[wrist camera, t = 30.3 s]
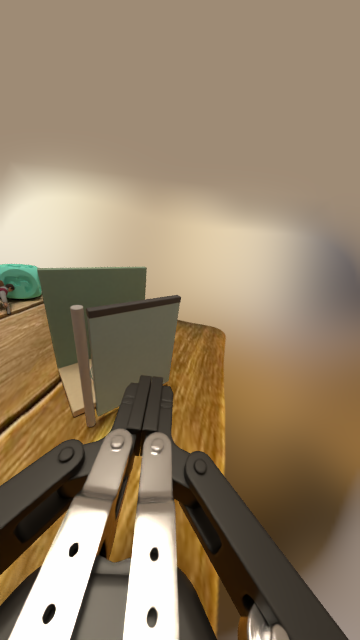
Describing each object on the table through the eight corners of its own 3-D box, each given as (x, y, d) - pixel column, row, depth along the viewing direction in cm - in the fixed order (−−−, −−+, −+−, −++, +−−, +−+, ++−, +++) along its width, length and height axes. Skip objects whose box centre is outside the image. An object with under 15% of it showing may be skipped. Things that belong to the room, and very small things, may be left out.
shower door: (98, 417, 23) (88, 311, 16) (96, 412, 23) (85, 307, 17) (168, 381, 30) (181, 296, 23) (165, 378, 30) (177, 294, 24)
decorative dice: (8, 291, 53) (2, 263, 50) (42, 291, 57) (38, 265, 54) (0, 299, 47) (-7, 266, 44) (40, 298, 51) (35, 269, 48)
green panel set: (79, 433, 22) (56, 306, 14) (58, 370, 30) (36, 268, 23) (176, 382, 31) (193, 289, 24) (140, 345, 39) (144, 266, 32)
